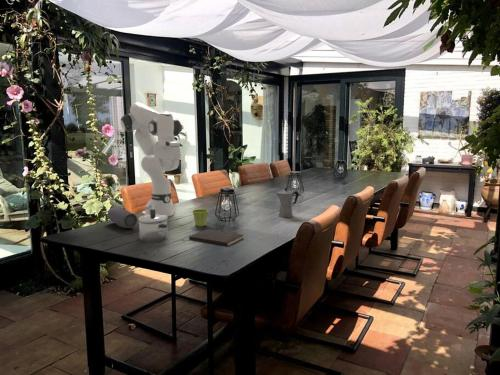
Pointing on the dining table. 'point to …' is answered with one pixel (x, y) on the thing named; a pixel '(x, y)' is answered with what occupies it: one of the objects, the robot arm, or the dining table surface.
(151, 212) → the lid
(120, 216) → the bluetooth speaker
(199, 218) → the plant pot
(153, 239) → the cooker
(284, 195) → the coffeepot
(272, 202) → the dining table surface
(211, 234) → the hardcover book
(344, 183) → the dining table surface
